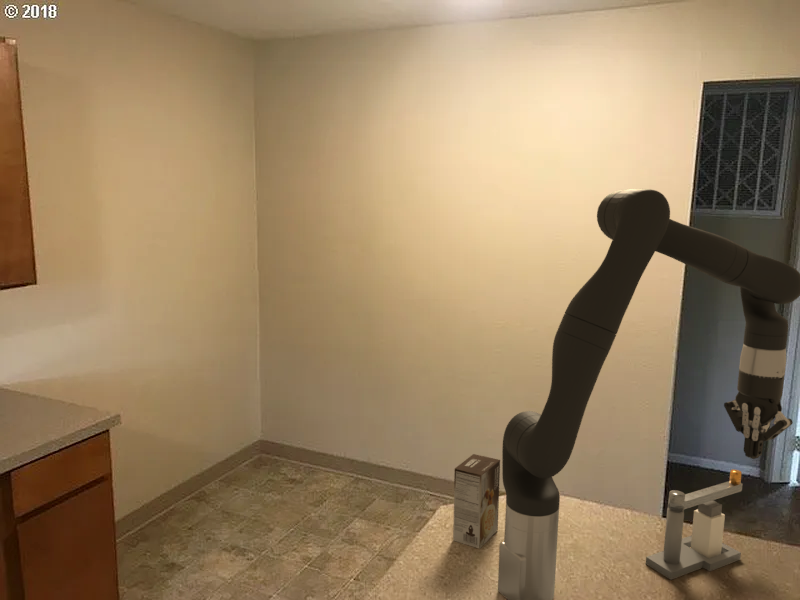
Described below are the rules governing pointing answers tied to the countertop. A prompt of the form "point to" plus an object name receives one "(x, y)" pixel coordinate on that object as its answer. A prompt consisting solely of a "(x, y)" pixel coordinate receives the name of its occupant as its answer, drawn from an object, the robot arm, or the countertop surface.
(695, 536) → the plug
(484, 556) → the countertop surface
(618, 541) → the countertop surface
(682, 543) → the dock
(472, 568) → the countertop surface
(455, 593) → the countertop surface
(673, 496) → the long flat grey beam
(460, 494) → the coffee box
